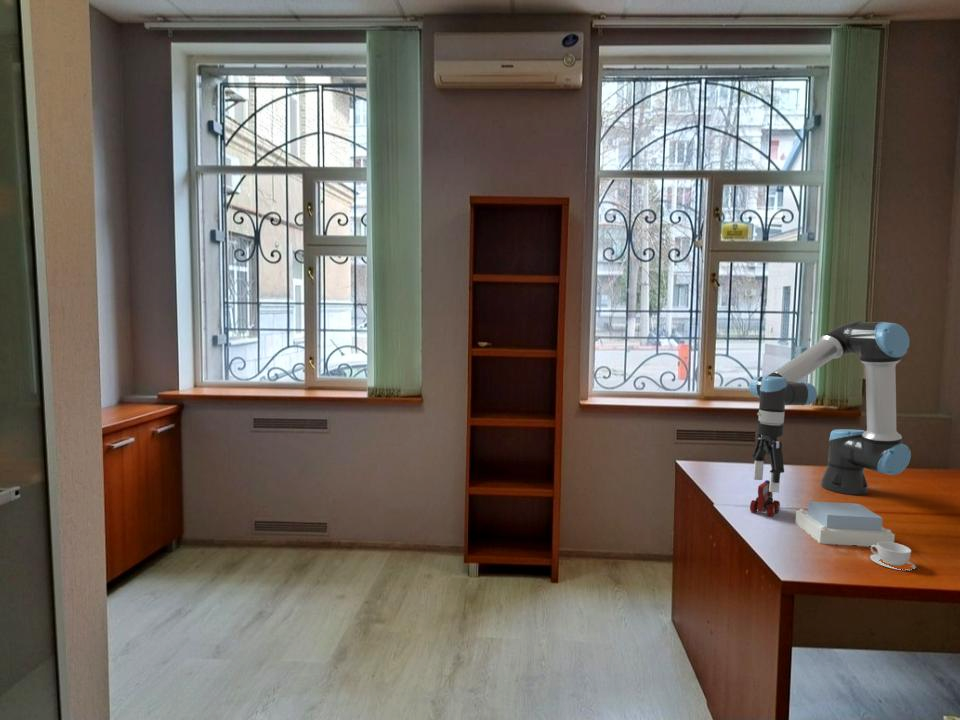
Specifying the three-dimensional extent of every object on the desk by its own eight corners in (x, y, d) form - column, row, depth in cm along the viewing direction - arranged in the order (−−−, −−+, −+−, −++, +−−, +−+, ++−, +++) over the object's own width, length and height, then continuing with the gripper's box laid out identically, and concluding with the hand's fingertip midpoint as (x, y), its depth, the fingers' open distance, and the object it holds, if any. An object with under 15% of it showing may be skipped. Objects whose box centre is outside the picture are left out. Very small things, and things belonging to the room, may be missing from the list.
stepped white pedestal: (862, 526, 177) (864, 502, 176) (893, 547, 161) (895, 521, 160) (795, 523, 179) (797, 498, 178) (819, 543, 163) (821, 516, 163)
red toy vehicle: (781, 510, 191) (783, 480, 190) (770, 519, 182) (772, 488, 181) (759, 505, 196) (761, 476, 195) (747, 514, 187) (749, 483, 186)
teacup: (917, 563, 152) (918, 546, 151) (914, 576, 144) (915, 558, 144) (872, 552, 158) (873, 536, 158) (867, 563, 151) (868, 547, 151)
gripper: (745, 415, 199) (740, 474, 201) (774, 430, 174) (768, 496, 176) (767, 416, 198) (762, 475, 200) (799, 431, 173) (793, 498, 175)
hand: (765, 485), depth 188 cm, fingers open, 13 cm apart
